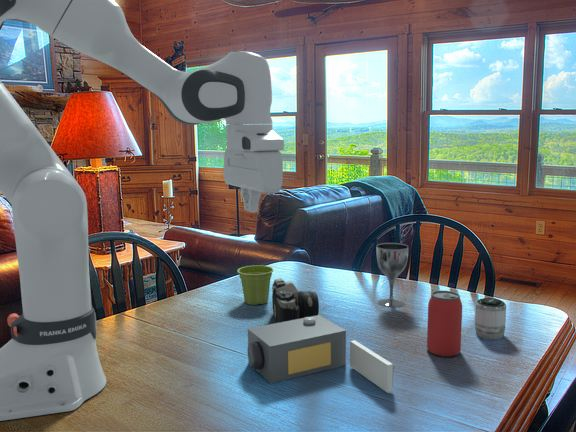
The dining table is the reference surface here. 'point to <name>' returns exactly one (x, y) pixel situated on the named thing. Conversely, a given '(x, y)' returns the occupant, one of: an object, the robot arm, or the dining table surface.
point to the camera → (292, 302)
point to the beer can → (444, 323)
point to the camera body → (296, 348)
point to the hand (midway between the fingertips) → (251, 211)
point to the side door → (371, 366)
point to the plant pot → (255, 283)
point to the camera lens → (490, 318)
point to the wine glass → (392, 267)
